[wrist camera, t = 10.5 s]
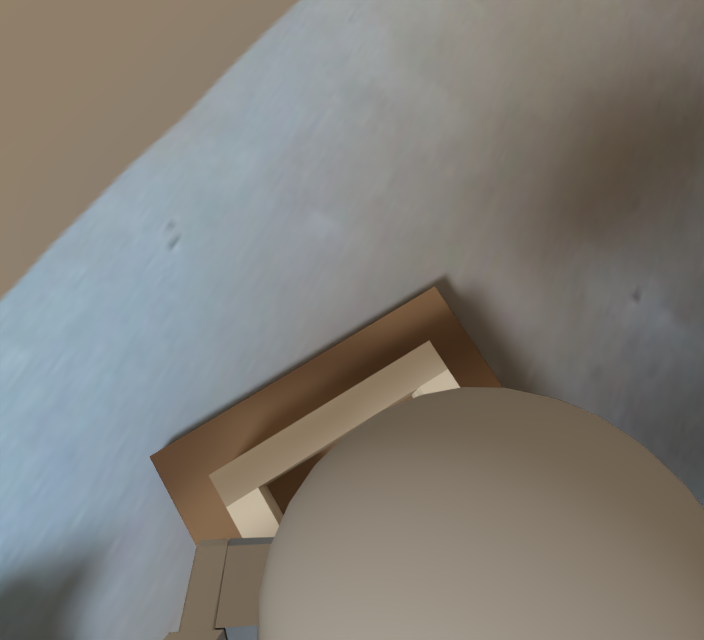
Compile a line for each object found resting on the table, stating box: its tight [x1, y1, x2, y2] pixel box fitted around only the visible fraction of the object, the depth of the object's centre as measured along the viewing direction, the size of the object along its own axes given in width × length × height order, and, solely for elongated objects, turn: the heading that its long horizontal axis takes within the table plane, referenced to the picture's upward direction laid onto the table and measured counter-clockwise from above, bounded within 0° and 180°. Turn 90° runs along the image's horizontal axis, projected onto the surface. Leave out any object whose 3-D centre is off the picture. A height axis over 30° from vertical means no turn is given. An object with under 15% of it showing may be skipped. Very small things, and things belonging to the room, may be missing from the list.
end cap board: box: [150, 286, 503, 546], centre depth 27 cm, size 16×16×4 cm
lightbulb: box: [257, 387, 704, 640], centre depth 10 cm, size 6×6×11 cm
